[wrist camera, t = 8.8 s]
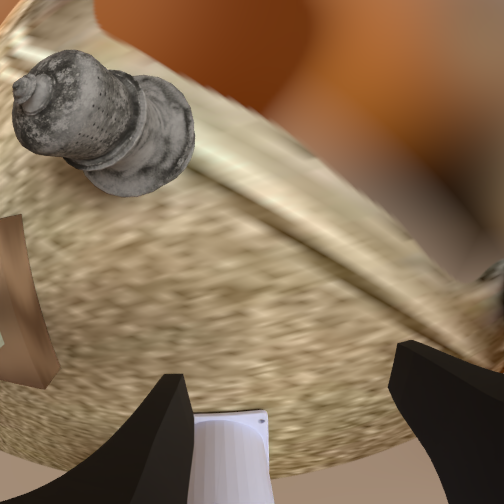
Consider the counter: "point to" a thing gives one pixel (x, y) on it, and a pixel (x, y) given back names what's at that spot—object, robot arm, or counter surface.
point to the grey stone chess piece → (104, 122)
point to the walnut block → (21, 315)
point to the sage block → (1, 341)
